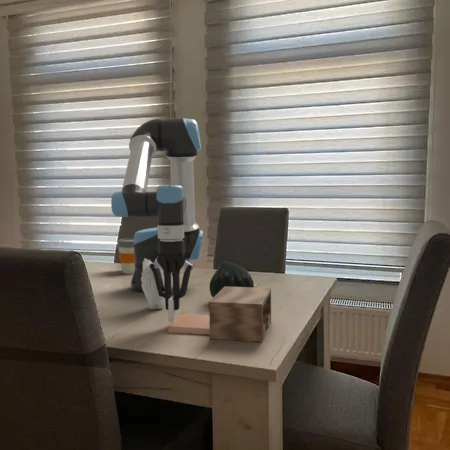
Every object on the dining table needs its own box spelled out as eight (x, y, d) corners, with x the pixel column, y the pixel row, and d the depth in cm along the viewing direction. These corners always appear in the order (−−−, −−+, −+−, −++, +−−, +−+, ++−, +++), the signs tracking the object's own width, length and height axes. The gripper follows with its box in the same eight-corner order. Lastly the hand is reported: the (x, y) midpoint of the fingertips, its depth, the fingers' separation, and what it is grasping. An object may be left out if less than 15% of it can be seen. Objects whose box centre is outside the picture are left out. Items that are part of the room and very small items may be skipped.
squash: (266, 289, 154) (247, 252, 162) (228, 297, 147) (210, 258, 154) (249, 309, 165) (232, 273, 172) (212, 318, 157) (196, 280, 164)
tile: (168, 333, 129) (168, 326, 129) (182, 320, 141) (182, 313, 141) (232, 337, 125) (231, 330, 125) (240, 323, 137) (240, 317, 136)
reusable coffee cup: (132, 275, 206) (131, 242, 204) (112, 273, 213) (111, 240, 211) (152, 271, 216) (151, 239, 215) (132, 268, 223) (131, 237, 222)
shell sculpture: (143, 305, 157) (142, 252, 155) (168, 304, 157) (167, 252, 156) (141, 312, 148) (139, 256, 147) (167, 311, 149) (166, 256, 147)
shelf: (209, 338, 123) (209, 301, 122) (224, 318, 141) (224, 286, 140) (262, 342, 120) (262, 304, 119) (271, 321, 137) (271, 288, 136)
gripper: (144, 240, 130) (146, 323, 132) (188, 241, 127) (190, 326, 129) (154, 237, 137) (156, 315, 140) (196, 238, 134) (198, 318, 137)
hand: (172, 320), depth 135 cm, fingers closed
